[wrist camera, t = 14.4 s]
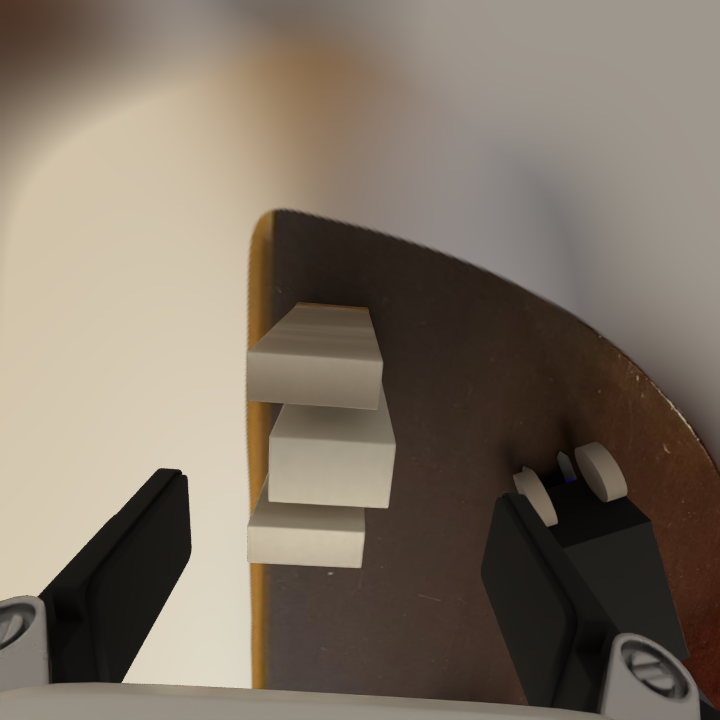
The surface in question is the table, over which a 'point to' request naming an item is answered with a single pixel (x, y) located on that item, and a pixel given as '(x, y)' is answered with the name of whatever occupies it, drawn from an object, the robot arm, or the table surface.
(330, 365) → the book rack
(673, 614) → the figurine character
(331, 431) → the beige rectangular block
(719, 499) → the table surface
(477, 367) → the table surface
